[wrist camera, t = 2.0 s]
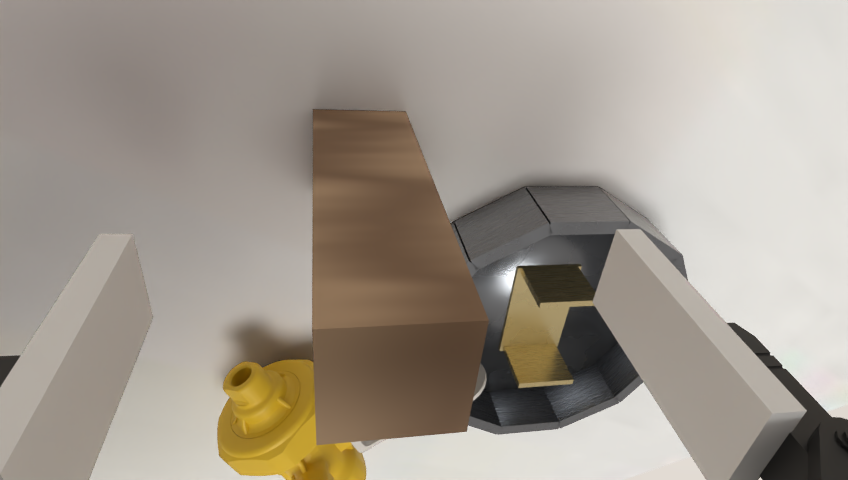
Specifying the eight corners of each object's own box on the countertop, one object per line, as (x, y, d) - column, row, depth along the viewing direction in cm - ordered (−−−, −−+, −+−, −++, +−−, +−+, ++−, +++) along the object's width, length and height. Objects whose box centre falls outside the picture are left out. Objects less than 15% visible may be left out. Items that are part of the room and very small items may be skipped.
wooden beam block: (315, 192, 22) (316, 444, 12) (313, 109, 20) (312, 329, 10) (400, 191, 23) (466, 431, 13) (405, 111, 21) (488, 320, 11)
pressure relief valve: (296, 471, 31) (188, 362, 25) (479, 366, 31) (415, 238, 26) (310, 564, 26) (182, 458, 20) (524, 439, 27) (458, 303, 21)
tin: (399, 396, 30) (407, 447, 27) (418, 187, 23) (432, 228, 20) (614, 379, 32) (642, 425, 29) (692, 186, 25) (738, 223, 22)
